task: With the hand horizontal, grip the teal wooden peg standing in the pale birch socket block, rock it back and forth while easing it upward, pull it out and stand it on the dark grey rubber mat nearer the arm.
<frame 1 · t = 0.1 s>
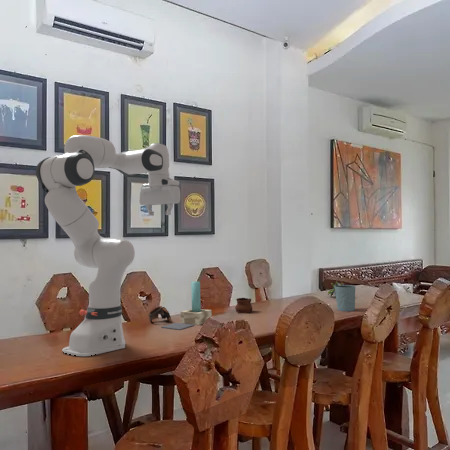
hand: (159, 215, 191), 48 cm above the table, tool pointing down, fingers open, 8 cm apart
drinking glass: (345, 310, 227), on the table
mat: (177, 326, 194), on the table
passion flower: (337, 298, 269), on the table
brown hollow arch: (161, 322, 206), on the table
peg: (196, 302, 204), in the socket block
ceramic pot: (243, 313, 227), on the table
socket block: (196, 321, 204), on the table
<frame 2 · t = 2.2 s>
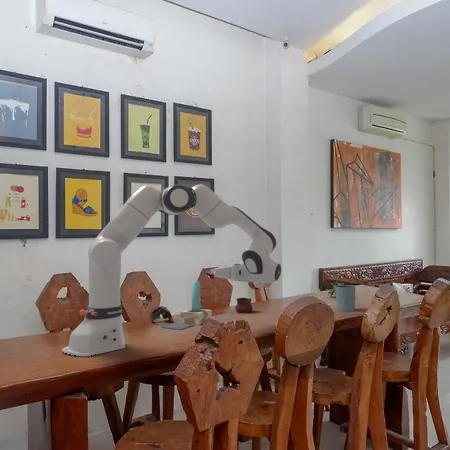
hand: (217, 270, 198), 24 cm above the table, tool horizontal, fingers open, 8 cm apart
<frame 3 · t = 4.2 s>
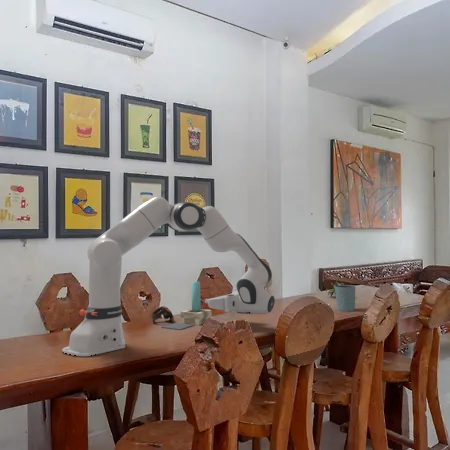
hand: (211, 299, 199), 11 cm above the table, tool horizontal, fingers open, 8 cm apart
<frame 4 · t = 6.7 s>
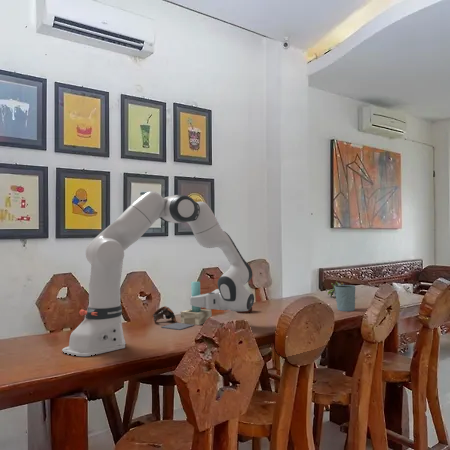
hand: (194, 297, 204), 11 cm above the table, tool horizontal, fingers closed on peg, 4 cm apart
peg: (196, 302, 204), in the socket block, touching gripper
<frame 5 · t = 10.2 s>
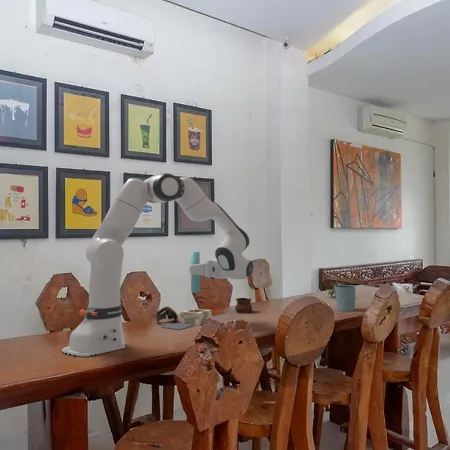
hand: (193, 267, 205), 25 cm above the table, tool horizontal, fingers closed on peg, 4 cm apart
brown hollow arch: (168, 322, 204), on the table
peg: (195, 272, 204), point 22 cm above the table, touching gripper
everything else where it was.
when the fingers open (12 cm above the table, at t = 13.8 s): peg drops 1 cm, resting on mat.
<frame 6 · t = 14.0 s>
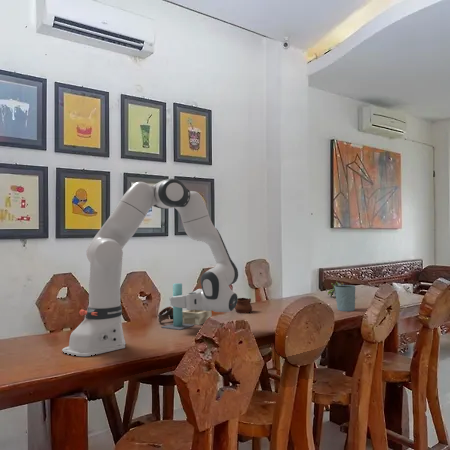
hand: (175, 297, 195), 12 cm above the table, tool horizontal, fingers open, 5 cm apart
brown hollow arch: (170, 323, 204), on the table
peg: (177, 304, 194), on the mat
everything else where it was.
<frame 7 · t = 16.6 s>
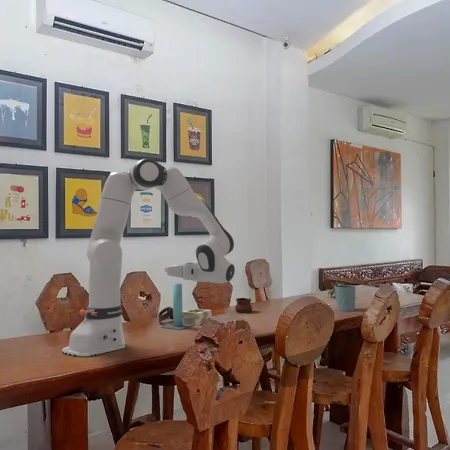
hand: (173, 269, 194), 25 cm above the table, tool horizontal, fingers open, 8 cm apart
nothing on the table moved.
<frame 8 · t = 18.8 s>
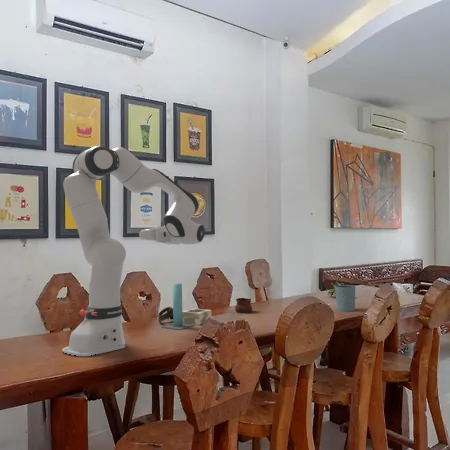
hand: (147, 234, 200), 40 cm above the table, tool horizontal, fingers open, 8 cm apart
nothing on the table moved.
at the end: peg inside the target area (0.0 cm from its centre), resting on mat; peg tilted 0°; the gripper is holding nothing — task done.
